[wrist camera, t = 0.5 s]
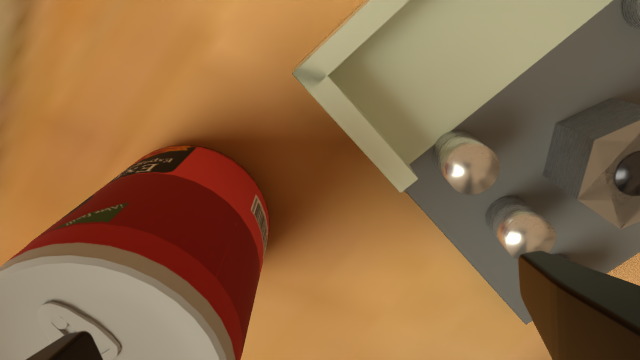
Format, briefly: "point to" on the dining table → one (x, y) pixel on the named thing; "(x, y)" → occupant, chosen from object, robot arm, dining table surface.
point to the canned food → (145, 264)
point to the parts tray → (428, 67)
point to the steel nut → (600, 159)
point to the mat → (540, 156)
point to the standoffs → (482, 171)
